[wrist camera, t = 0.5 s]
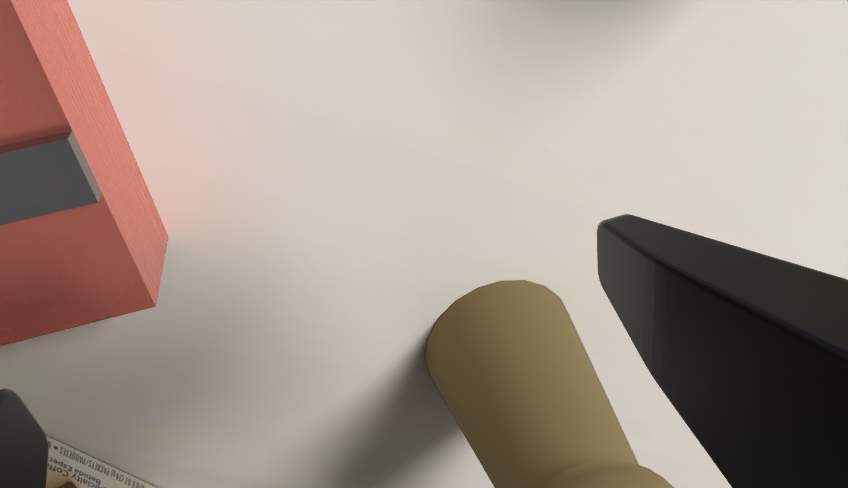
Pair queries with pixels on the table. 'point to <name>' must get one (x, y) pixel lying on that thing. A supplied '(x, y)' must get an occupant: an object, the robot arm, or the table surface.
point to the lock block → (66, 185)
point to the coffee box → (84, 470)
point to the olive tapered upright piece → (529, 392)
